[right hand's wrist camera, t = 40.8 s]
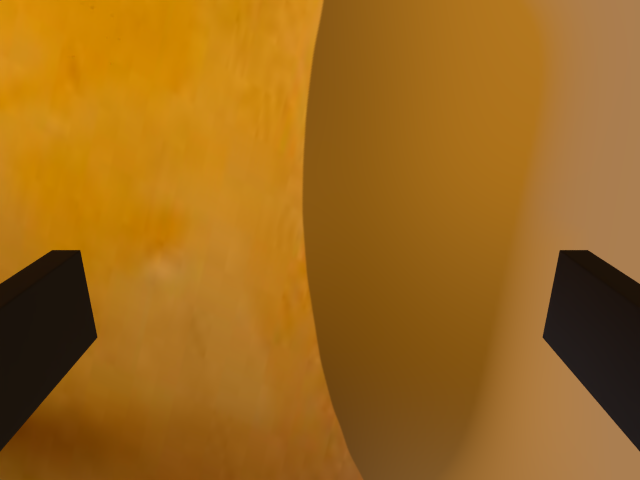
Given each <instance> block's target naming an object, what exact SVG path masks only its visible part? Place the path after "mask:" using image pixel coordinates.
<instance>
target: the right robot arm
mask: <svg viewBox="0 0 640 480" xmlns="http://www.w3.org/2000/svg"><path fill="white" fill-rule="evenodd" d="M96 338H97V333H96V328H95V323H94V318H93V313H92V308H91V303H90V298H89V293H88V288H87V282H86V277H85V272H84V267H83V262H82V257H81V252H80V250H52V251H50V252H49V253H47V254H46V255H44V256H43V257H41V258H40V259H38V260H36V261H35V262H33V263H32V264H30V265H29V266H27V267H26V268H24V269H23V270H21V271H19V272H18V273H16V274H15V275H13V276H12V277H10V278H9V279H7V280H6V281H4V282H3V283H1V284H0V451H1V450H2V449H3V447H4V446H5V445H6V444H7V443H8V442H9V440H10V439H11V438H12V437H13V436H14V435H15V433H16V432H17V431H18V430H19V429H20V428H21V426H22V425H23V424H24V423H25V422H26V420H27V419H28V418H29V417H30V416H31V415H32V413H33V412H34V411H35V410H36V409H37V408H38V406H39V405H40V404H41V403H42V402H43V401H44V399H45V398H46V397H47V396H48V395H49V394H50V392H51V391H52V390H53V389H54V388H55V386H56V385H57V384H58V383H59V382H60V381H61V379H62V378H63V377H64V376H65V375H66V374H67V372H68V371H69V370H70V369H71V368H72V367H73V365H74V364H75V363H76V362H77V361H78V360H79V358H80V357H81V356H82V355H83V354H84V352H85V351H86V350H87V349H88V348H89V347H90V345H91V344H92V343H93V342H94V341H95V340H96ZM543 338H544V340H545V341H546V342H547V343H548V344H549V345H550V347H551V348H552V349H553V350H554V351H555V352H556V354H557V355H558V356H559V357H560V358H561V359H562V361H563V362H564V363H565V364H566V365H567V367H568V368H569V369H570V370H571V371H572V372H573V374H574V375H575V376H576V377H577V378H578V379H579V381H580V382H581V383H582V384H583V385H584V386H585V388H586V389H587V390H588V391H589V392H590V394H591V395H592V396H593V397H594V398H595V399H596V401H597V402H598V403H599V404H600V405H601V406H602V408H603V409H604V410H605V411H606V412H607V413H608V415H609V416H610V417H611V418H612V419H613V420H614V422H615V423H616V424H617V425H618V426H619V428H620V429H621V430H622V431H623V432H624V433H625V435H626V436H627V437H628V438H629V439H630V440H631V442H632V443H633V444H634V445H635V446H636V447H637V449H638V450H639V451H640V284H639V283H637V282H636V281H634V280H633V279H631V278H630V277H628V276H627V275H625V274H624V273H622V272H620V271H619V270H617V269H616V268H614V267H613V266H611V265H610V264H608V263H607V262H605V261H604V260H602V259H600V258H599V257H597V256H596V255H594V254H593V253H591V252H590V251H588V250H560V252H559V257H558V262H557V267H556V272H555V277H554V282H553V288H552V293H551V298H550V303H549V308H548V313H547V318H546V323H545V328H544V333H543Z"/></svg>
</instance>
